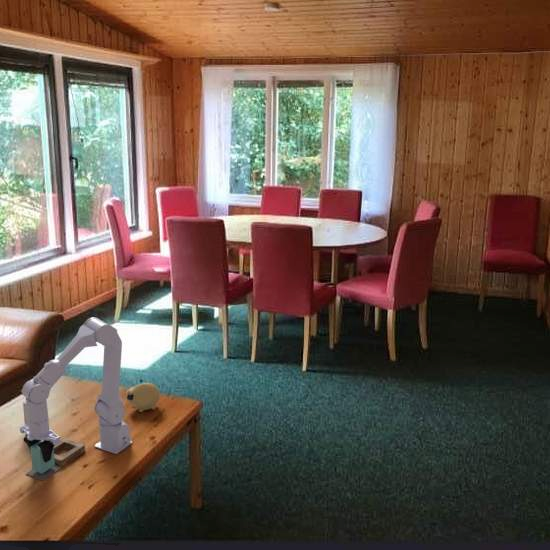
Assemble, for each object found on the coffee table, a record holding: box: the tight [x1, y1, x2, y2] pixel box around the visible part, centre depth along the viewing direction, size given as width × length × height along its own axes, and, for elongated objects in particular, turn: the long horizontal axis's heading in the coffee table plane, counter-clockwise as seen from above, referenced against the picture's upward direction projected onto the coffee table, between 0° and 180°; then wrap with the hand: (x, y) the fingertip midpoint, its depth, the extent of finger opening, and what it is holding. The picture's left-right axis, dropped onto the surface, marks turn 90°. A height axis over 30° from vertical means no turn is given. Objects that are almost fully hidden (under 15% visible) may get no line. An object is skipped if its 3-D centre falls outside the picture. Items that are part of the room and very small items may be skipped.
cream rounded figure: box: [125, 382, 161, 413], centre depth 218 cm, size 10×12×11 cm
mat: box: [25, 465, 61, 482], centre depth 181 cm, size 7×7×1 cm
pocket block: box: [53, 437, 86, 468], centre depth 189 cm, size 9×10×2 cm
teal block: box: [29, 440, 56, 473], centre depth 179 cm, size 4×5×8 cm
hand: (42, 458), depth 180 cm, fingers closed on teal block, 4 cm apart
